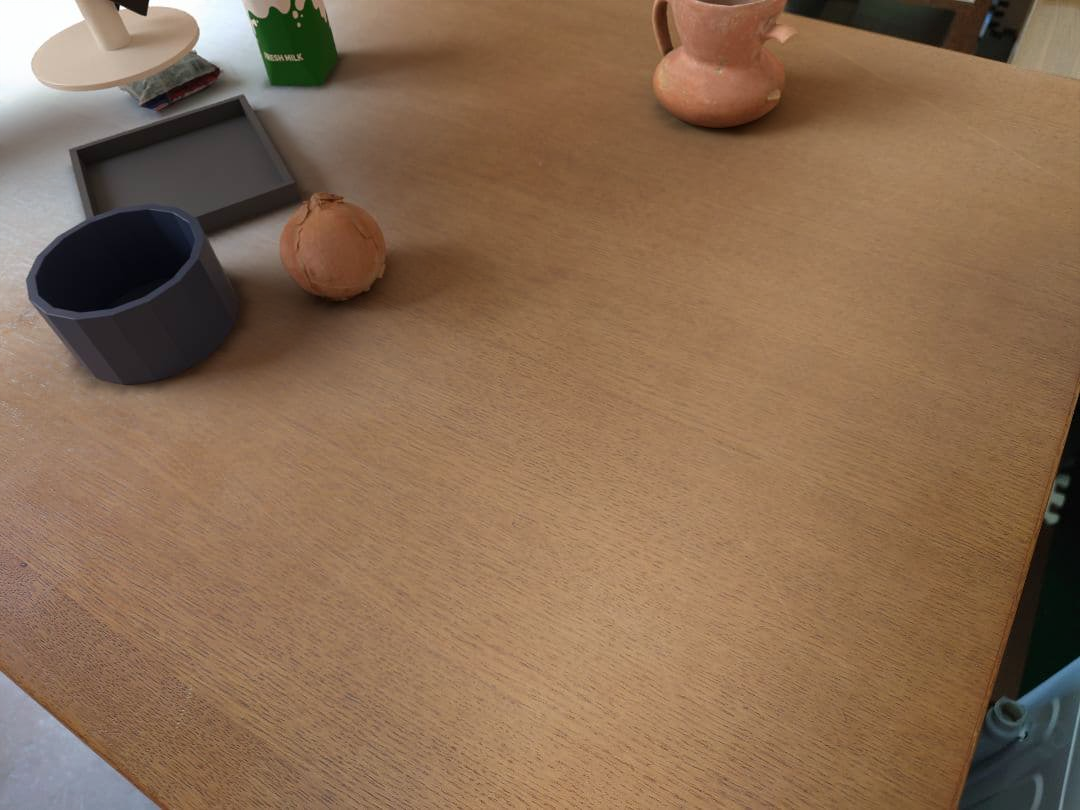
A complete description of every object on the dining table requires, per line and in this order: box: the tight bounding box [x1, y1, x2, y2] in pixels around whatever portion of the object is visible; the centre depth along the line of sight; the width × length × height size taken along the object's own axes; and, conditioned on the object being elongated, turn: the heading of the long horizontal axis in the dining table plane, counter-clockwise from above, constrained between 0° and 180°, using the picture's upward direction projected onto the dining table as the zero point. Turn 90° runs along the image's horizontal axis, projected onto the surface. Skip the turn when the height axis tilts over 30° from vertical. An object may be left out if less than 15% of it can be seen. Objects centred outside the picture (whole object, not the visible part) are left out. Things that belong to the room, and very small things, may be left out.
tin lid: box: [30, 0, 201, 92], centre depth 71 cm, size 16×16×10 cm
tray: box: [68, 93, 302, 235], centre depth 86 cm, size 22×21×3 cm
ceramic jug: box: [651, 0, 798, 129], centre depth 84 cm, size 18×14×14 cm
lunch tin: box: [25, 204, 240, 385], centre depth 69 cm, size 15×15×8 cm
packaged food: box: [116, 49, 225, 111], centre depth 99 cm, size 9×12×5 cm
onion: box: [279, 191, 387, 302], centre depth 71 cm, size 10×9×10 cm
